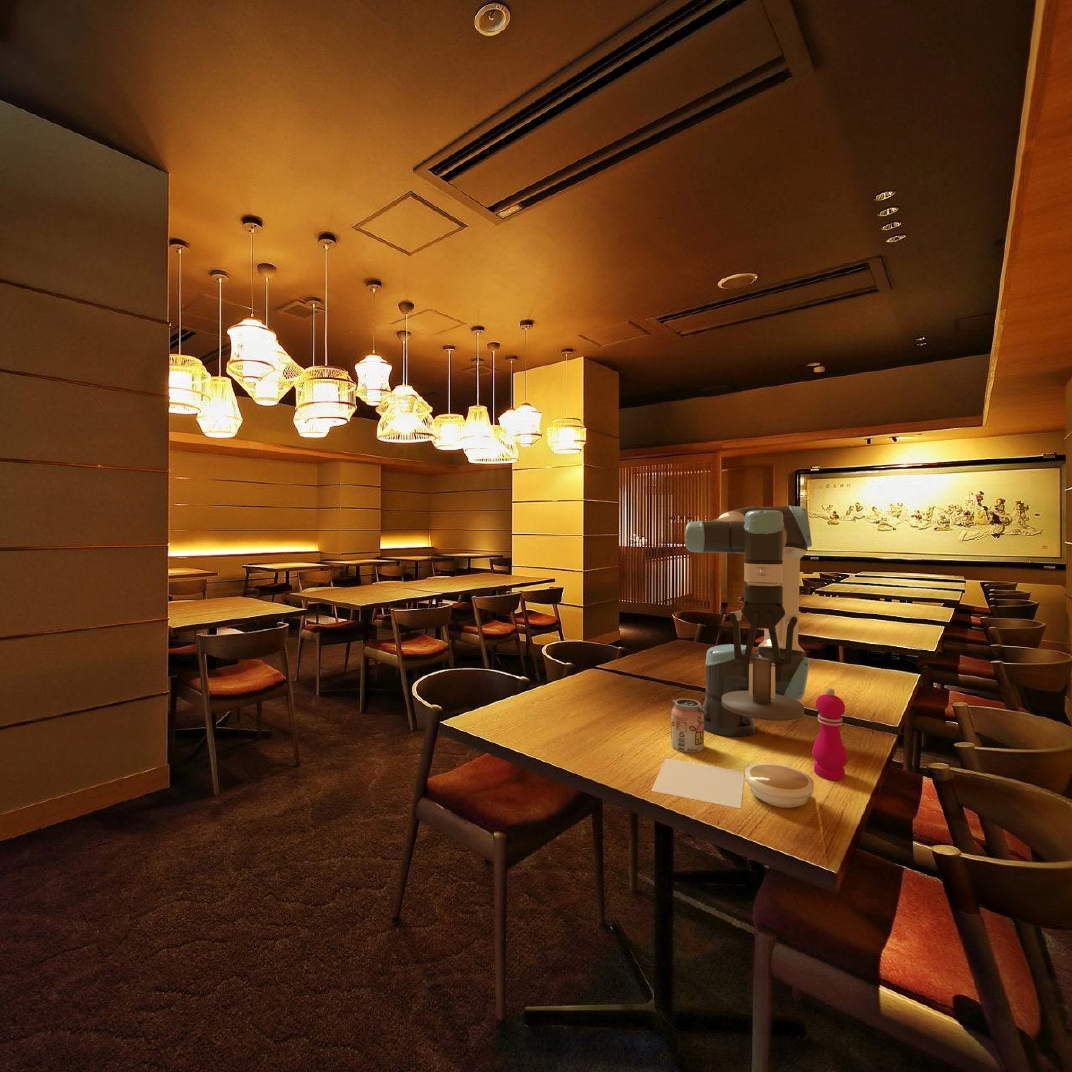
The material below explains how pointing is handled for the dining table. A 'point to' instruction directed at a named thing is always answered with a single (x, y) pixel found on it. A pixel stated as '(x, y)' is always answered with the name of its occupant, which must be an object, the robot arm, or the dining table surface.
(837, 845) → the dining table surface
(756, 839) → the dining table surface
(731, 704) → the lid
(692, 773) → the mat
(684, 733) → the beverage can
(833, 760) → the pepper mill
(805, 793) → the bowl
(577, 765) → the dining table surface
